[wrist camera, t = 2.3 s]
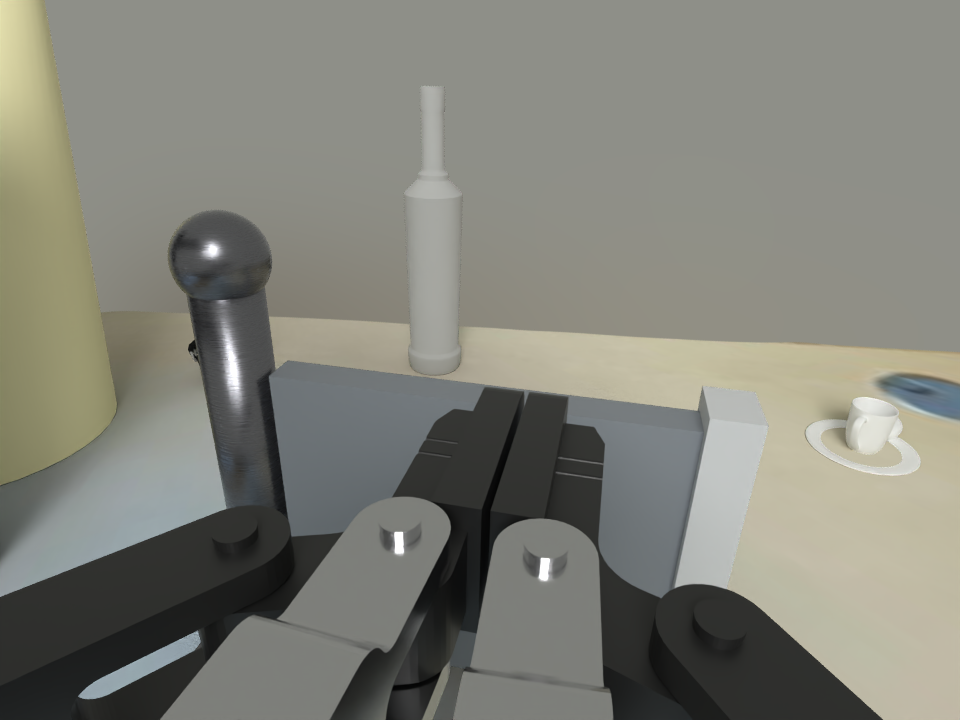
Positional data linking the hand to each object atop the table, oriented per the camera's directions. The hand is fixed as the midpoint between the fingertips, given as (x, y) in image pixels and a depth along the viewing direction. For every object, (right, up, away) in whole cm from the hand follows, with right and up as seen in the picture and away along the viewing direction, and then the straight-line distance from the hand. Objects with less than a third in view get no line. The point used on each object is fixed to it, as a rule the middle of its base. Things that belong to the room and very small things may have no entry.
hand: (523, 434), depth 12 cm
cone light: (-39, -3, +39) cm, 55 cm away
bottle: (-5, +1, +49) cm, 49 cm away
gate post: (-11, -13, +20) cm, 26 cm away
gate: (0, -13, +17) cm, 21 cm away
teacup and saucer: (+32, -7, +37) cm, 49 cm away
